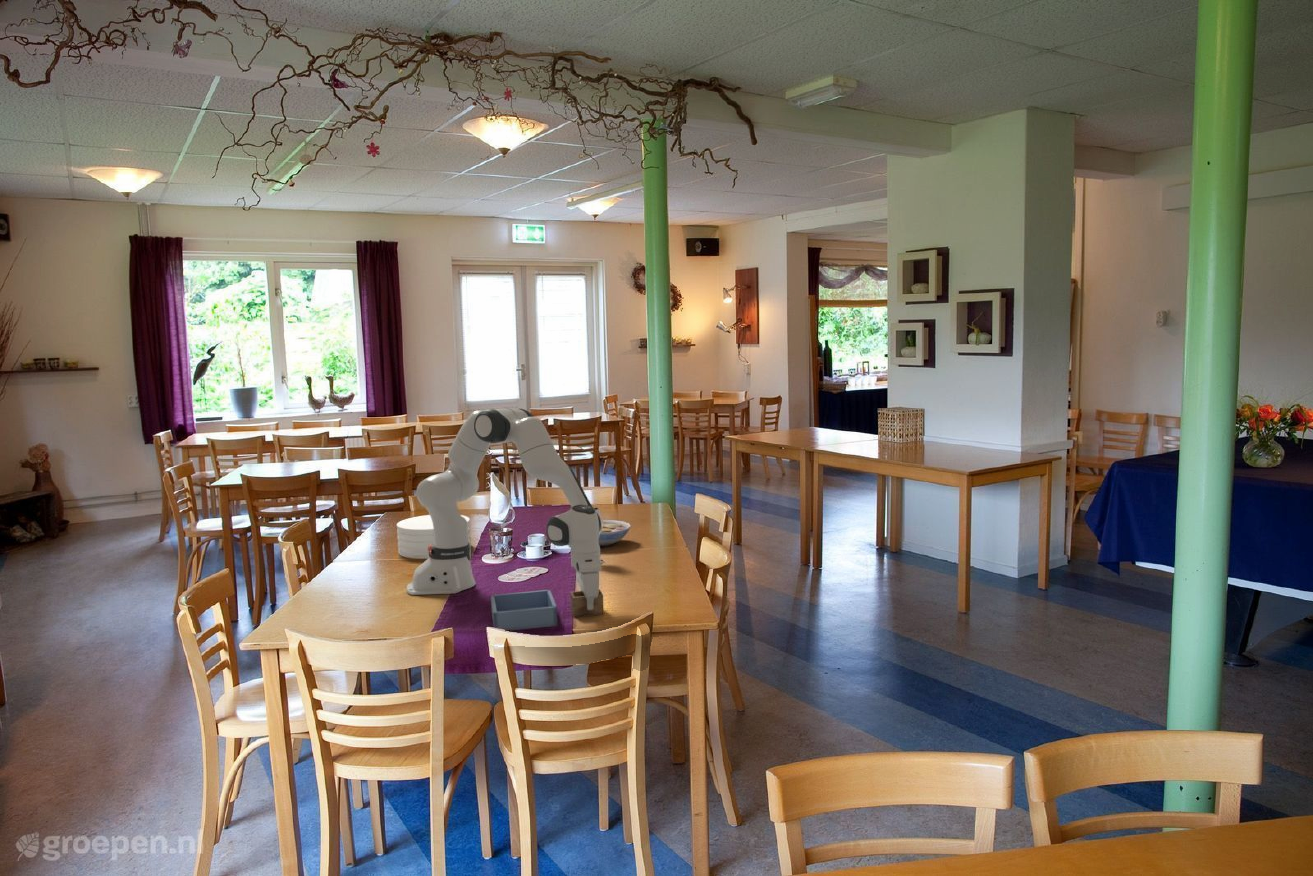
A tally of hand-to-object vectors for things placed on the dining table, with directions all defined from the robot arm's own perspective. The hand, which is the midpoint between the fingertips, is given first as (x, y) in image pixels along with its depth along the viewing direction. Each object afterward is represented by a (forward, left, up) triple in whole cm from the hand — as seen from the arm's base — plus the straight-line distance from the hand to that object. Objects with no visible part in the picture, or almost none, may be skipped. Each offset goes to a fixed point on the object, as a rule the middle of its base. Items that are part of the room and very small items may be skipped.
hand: (587, 604), depth 262 cm
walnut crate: (0, 0, -3) cm, 3 cm away
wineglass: (+11, +57, -3) cm, 58 cm away
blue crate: (-19, 0, -3) cm, 19 cm away
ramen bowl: (+19, +83, -3) cm, 85 cm away
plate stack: (-46, +97, -3) cm, 108 cm away
